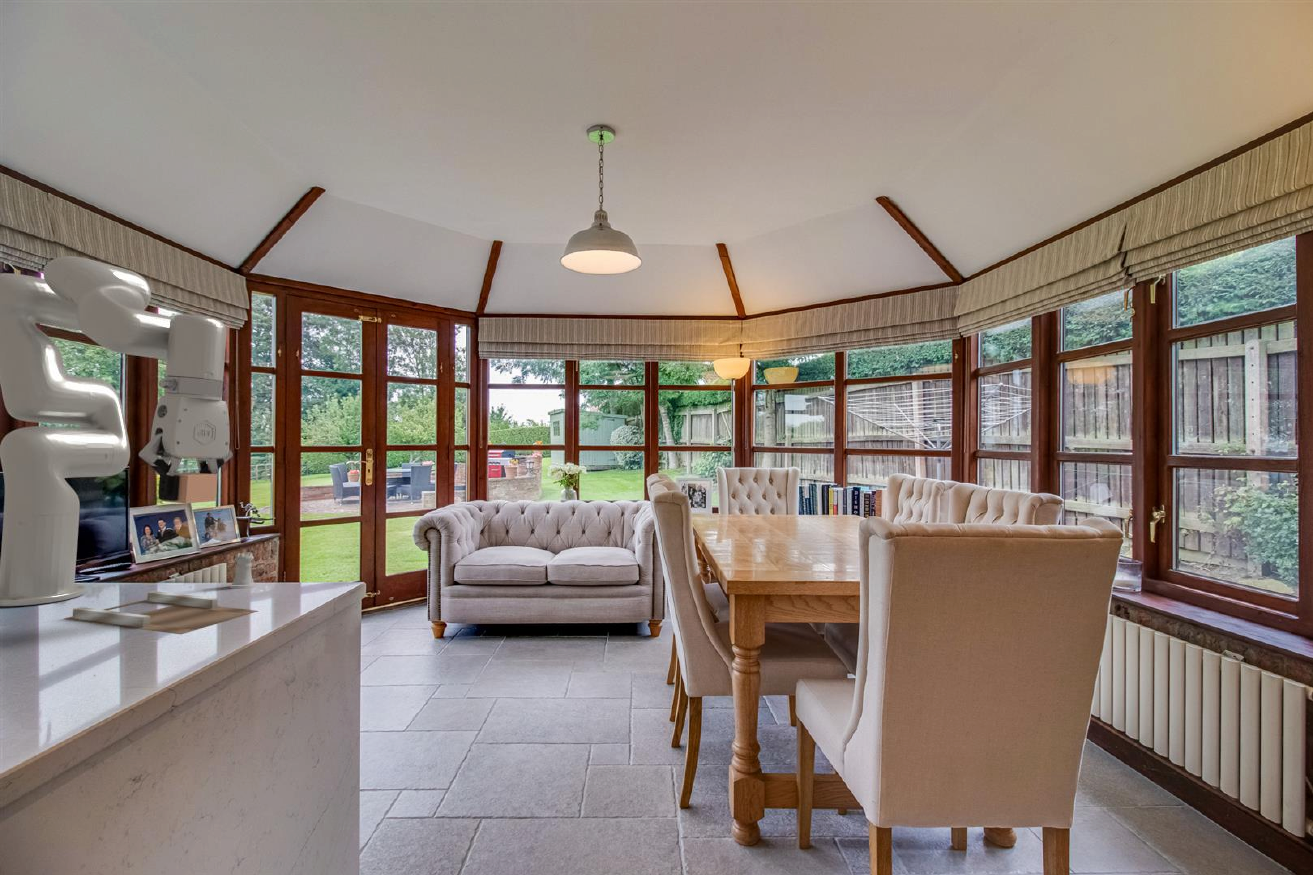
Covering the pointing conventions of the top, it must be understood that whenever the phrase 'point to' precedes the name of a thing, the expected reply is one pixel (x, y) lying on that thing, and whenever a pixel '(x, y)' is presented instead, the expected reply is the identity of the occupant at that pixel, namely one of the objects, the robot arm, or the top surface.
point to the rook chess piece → (243, 571)
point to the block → (196, 488)
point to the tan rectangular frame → (165, 614)
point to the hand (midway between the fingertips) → (186, 497)
